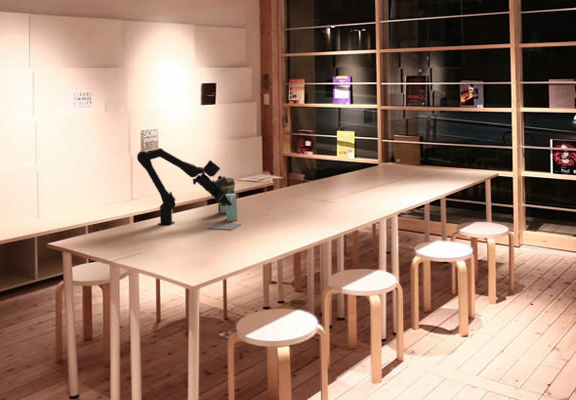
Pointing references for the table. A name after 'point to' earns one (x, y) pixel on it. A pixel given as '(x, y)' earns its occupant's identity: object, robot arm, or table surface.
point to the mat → (225, 226)
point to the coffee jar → (228, 190)
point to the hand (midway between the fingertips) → (229, 203)
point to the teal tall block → (231, 207)
